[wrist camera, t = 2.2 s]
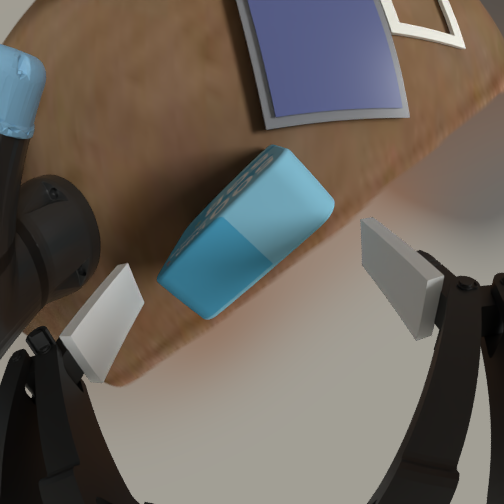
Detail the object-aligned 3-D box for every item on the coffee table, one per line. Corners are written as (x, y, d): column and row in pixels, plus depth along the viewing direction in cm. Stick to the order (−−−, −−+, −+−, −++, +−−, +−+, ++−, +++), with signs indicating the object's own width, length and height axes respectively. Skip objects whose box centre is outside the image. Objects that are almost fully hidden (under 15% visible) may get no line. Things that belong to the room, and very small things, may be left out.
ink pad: (265, 130, 24) (266, 129, 22) (231, -13, 17) (230, -20, 15) (404, 117, 23) (411, 117, 21) (367, -15, 16) (372, -20, 14)
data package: (271, 142, 24) (290, 147, 13) (303, 176, 26) (343, 208, 15) (186, 227, 28) (149, 288, 17) (218, 255, 29) (202, 329, 18)
